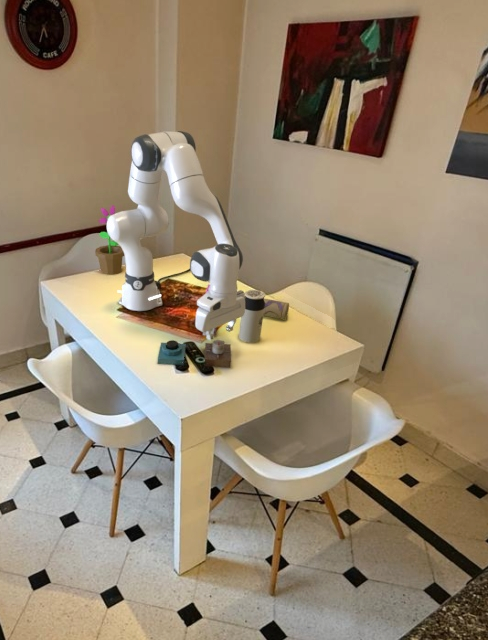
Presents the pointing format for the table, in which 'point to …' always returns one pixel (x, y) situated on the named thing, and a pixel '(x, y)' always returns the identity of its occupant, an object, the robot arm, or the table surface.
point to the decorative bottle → (276, 309)
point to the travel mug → (252, 316)
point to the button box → (171, 354)
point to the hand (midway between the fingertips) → (219, 334)
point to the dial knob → (218, 347)
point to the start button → (172, 345)
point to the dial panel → (218, 356)
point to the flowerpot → (109, 250)
